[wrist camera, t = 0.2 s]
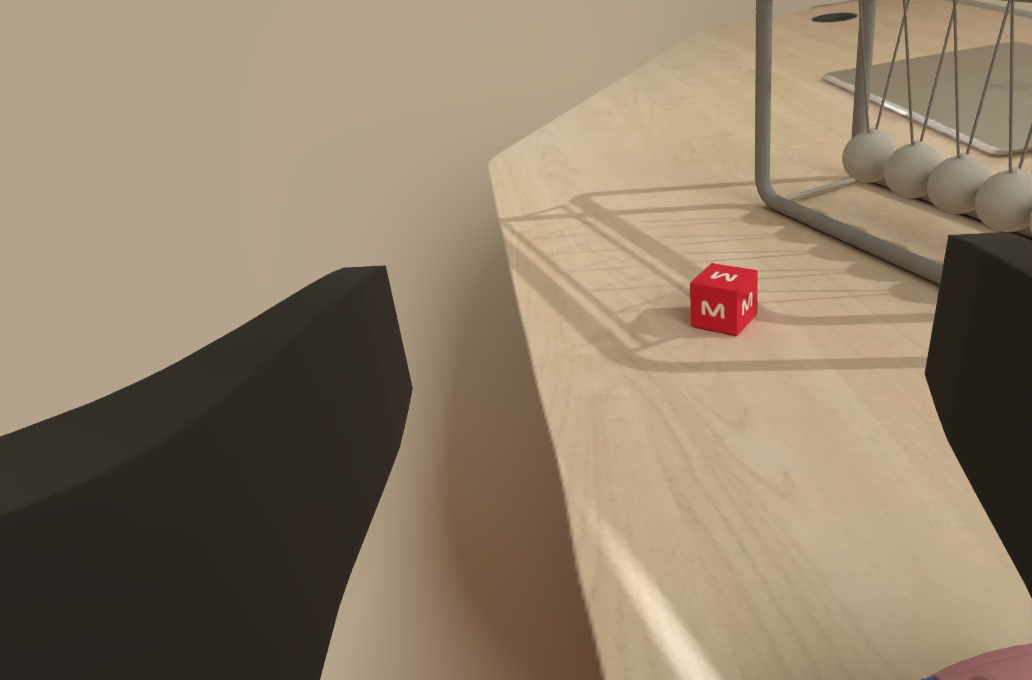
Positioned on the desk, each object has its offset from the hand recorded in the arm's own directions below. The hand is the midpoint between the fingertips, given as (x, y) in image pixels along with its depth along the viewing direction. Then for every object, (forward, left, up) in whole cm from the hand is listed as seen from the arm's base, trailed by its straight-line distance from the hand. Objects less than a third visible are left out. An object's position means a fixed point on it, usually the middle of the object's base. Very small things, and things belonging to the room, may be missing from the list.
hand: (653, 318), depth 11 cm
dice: (+36, -5, -20) cm, 41 cm away
